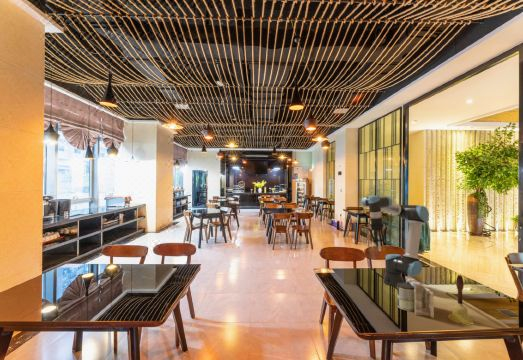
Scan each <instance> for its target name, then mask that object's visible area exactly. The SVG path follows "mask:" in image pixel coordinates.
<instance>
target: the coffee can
mask: <svg viewBox="0 0 523 360" xmlns="http://www.w3.org/2000/svg"><path fill="white" fill-rule="evenodd" d="M396 288H397V289H396V291H397V297H396V299H397V301H396V302H397V303H396V304H397V307H398V308H399V309H401V310H403V311H406V312H407V311H408V312H413V311H414V312H415V294H414V287H413V286H412V285H411V284H410V283H406V282H405V281H404V282H400V283H397V286H396Z"/></svg>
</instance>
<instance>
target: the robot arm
mask: <svg viewBox="0 0 523 360" xmlns="http://www.w3.org/2000/svg"><path fill="white" fill-rule="evenodd" d="M361 206H363V207H367V208H368V207H369V217H370V226H368V227H367V231H369V232H370V236H371V239H372V240H373V242H375V244H376V247H378V248H377V249H378V252H382V247H383V242H385V237H386V233H387V230H388V227H387V226H385V225H384V223H383V218H382V211H383V212H385V213H388V214H389V213H390V214H391V215H392V216H395V217H398V218H401V219H404V220H407V223H408V230H407V237H406V245H405V251H404V254H397V253H389V254H386V255H385V260H384V261H385V263H384V265H385V273H384V276H383V279H382V280H383V281H382V282H383V284H385V285H388V286H392V287H397V283H400V282H404V283H405V281H404V277H403V274H405V275H408V276H409V277H418V276H419V275H420V274H421V272H422V270H423V263H422V262H421V261H420V258H419V255H418V254H419V251H420V249H419V248H420V242H421V235H422V227H423V225H425V222H426V221H428V220H429V217H430V213H429V210H428V208H427V206H424V205H420V204H418V205H417V204H398V203H393V199H392V198H391V197H390V196H382V197H381V196H379V195H369V196H365V197H362V198H361ZM382 229H383V233H382ZM373 231H374V233H373ZM378 236H379V237H378ZM378 238H379V239H378Z"/></svg>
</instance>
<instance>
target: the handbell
mask: <svg viewBox="0 0 523 360" xmlns="http://www.w3.org/2000/svg"><path fill="white" fill-rule="evenodd" d="M455 281H456V282H455V285H456V289H457V304H454V305H453V307H452V309H453V310H452V312H451V313H450V314H448V315H447V319H449V320H450V321H452V322H454V323H457V324H460V323H463V324H462V325H465V324H470V323H473V322H474V320H473V319H472V318H471V317H470V316H469V315H468V314H469V313H468V308H467V307H466V306H464V304H463V291H464V278H463V276H462V275H460V274H458V275H457V276H456V280H455Z"/></svg>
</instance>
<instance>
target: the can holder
mask: <svg viewBox="0 0 523 360" xmlns="http://www.w3.org/2000/svg"><path fill="white" fill-rule="evenodd" d="M404 278H405V279H404V280H405V283H410V284H411V285H412V286H413V287H414V294H415V310H414V314H415V316H427V317H428V316H429V317H430V318H433V319H435V315H434V314H435V313H434V311H435V310H434V309H435V308H434V305H435V304H434V303H435V302H434V300H435V299H434V292H433V291H432V290H430V289H429V288H428V287H427V286H425V285H424V284H423V283H422V282H421V281H420V282H418V281H417V280H416V279H415V278H413V276H406V275H405V277H404Z"/></svg>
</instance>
